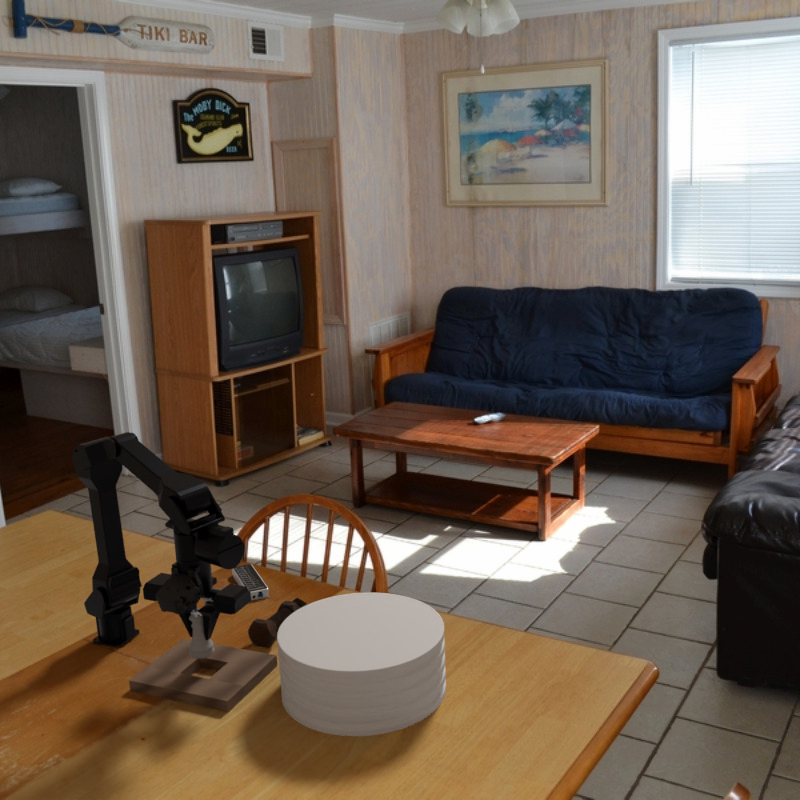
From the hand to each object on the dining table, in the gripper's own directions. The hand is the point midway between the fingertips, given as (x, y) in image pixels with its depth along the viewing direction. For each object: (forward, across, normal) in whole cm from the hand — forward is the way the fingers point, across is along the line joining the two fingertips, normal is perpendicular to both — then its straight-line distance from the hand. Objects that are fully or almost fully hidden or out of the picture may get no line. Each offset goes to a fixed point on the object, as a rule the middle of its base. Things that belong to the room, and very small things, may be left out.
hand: (200, 637), depth 171 cm
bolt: (+8, +4, +20) cm, 22 cm away
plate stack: (+8, +28, +6) cm, 30 cm away
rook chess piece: (+3, 0, 0) cm, 3 cm away
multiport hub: (+8, -12, +36) cm, 39 cm away
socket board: (+8, 0, 0) cm, 8 cm away
